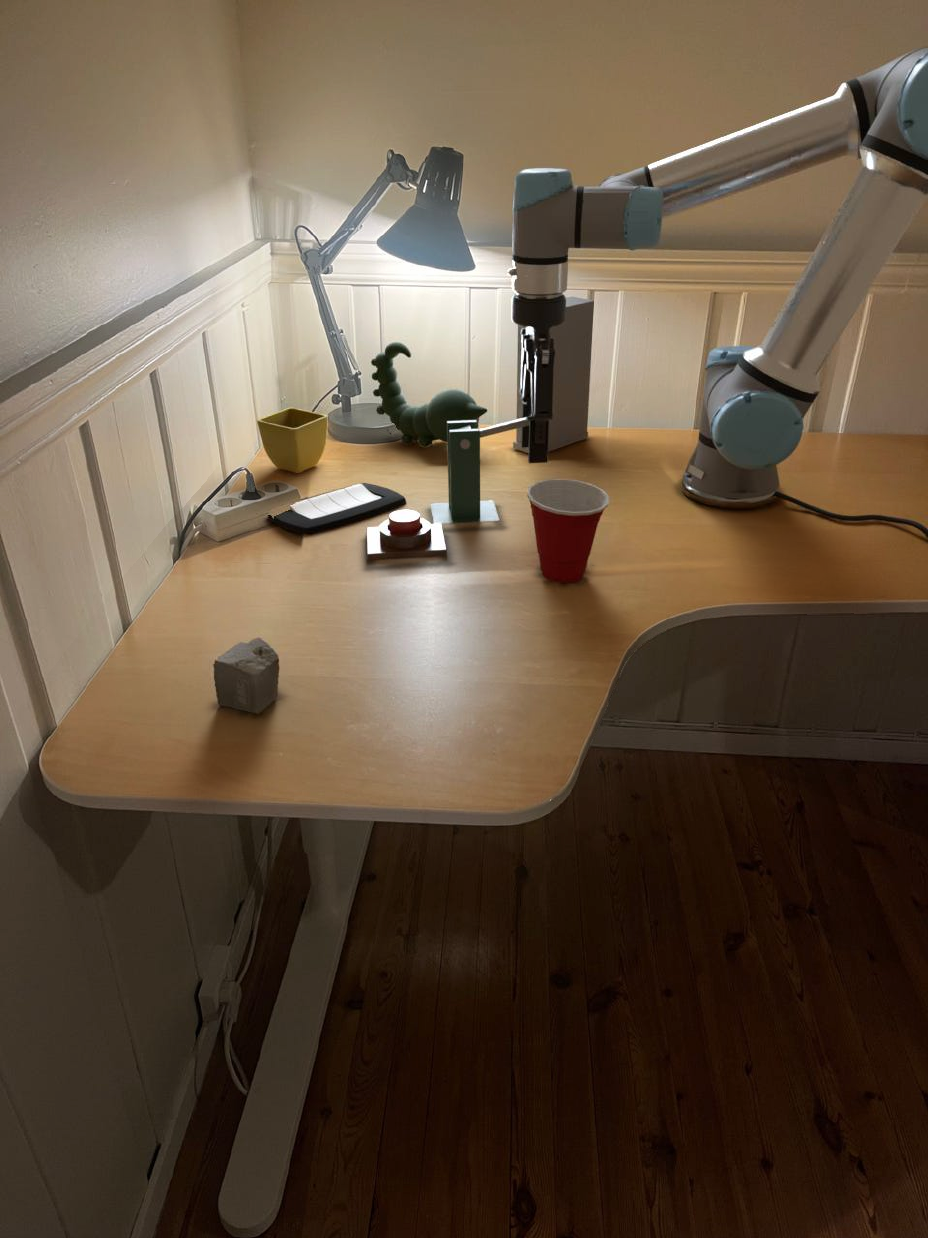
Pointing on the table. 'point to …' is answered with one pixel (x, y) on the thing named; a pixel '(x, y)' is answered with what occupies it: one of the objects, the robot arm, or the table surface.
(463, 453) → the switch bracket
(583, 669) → the table surface
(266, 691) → the mineral specimen
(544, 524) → the plastic cup
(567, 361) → the tall grey upright slab
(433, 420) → the toy figurine
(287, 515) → the light switch
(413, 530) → the button
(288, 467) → the flower pot
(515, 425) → the switch lever
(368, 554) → the button block
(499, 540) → the table surface
